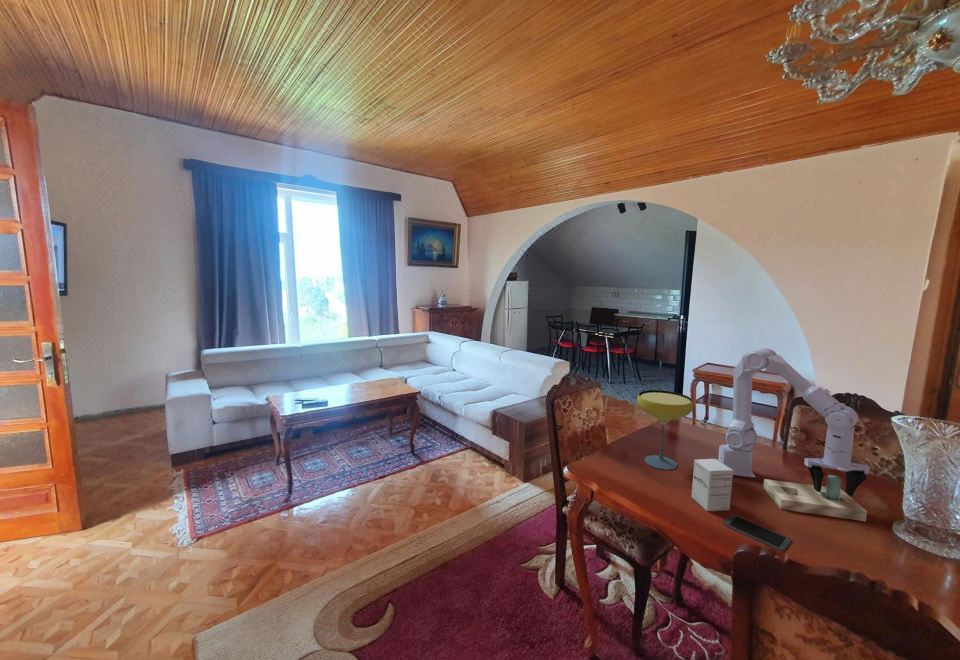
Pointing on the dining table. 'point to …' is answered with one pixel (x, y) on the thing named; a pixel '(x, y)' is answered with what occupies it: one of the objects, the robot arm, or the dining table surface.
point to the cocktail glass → (664, 417)
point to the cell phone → (757, 532)
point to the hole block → (812, 500)
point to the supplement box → (712, 484)
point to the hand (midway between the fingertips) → (832, 492)
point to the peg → (833, 488)
